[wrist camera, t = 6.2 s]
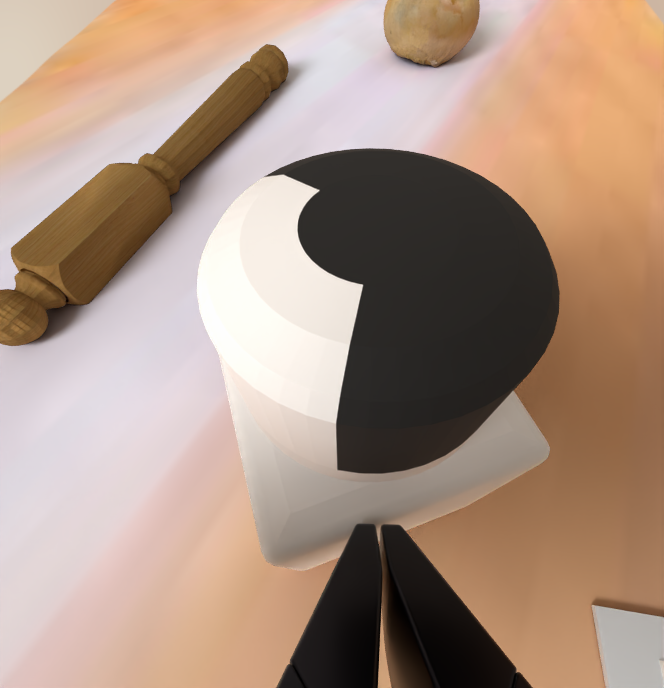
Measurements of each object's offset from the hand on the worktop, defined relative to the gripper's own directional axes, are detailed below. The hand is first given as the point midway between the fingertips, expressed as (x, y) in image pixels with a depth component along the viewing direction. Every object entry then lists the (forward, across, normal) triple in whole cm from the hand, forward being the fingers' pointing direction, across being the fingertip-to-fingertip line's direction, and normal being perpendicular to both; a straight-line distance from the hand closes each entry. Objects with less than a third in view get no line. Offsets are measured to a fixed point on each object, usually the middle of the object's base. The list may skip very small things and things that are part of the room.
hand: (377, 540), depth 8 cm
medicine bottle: (+8, 0, +2) cm, 8 cm away
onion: (+34, -6, -23) cm, 42 cm away
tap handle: (+21, +12, -10) cm, 27 cm away
